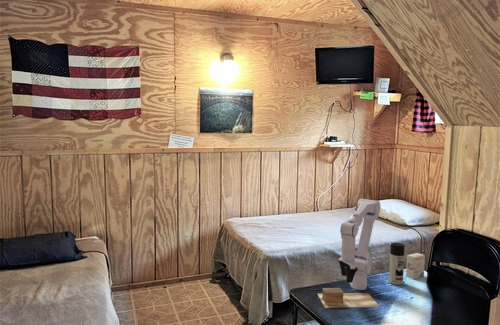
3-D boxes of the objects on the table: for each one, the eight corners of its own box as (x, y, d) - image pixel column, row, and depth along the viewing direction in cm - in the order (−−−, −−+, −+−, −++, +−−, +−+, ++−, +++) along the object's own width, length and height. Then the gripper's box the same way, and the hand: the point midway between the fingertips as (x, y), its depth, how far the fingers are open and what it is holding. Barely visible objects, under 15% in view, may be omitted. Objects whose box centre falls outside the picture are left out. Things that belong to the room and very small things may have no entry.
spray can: (395, 286, 198) (397, 246, 196) (385, 281, 204) (387, 242, 202) (405, 284, 201) (408, 245, 199) (395, 279, 207) (397, 241, 205)
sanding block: (322, 299, 178) (322, 288, 178) (340, 298, 179) (340, 287, 179) (325, 303, 174) (325, 292, 173) (343, 303, 175) (343, 292, 174)
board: (316, 296, 184) (317, 293, 184) (367, 296, 186) (368, 292, 186) (324, 310, 170) (324, 307, 170) (379, 310, 172) (379, 306, 172)
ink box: (416, 273, 216) (417, 252, 214) (424, 276, 211) (425, 254, 210) (405, 276, 211) (406, 254, 210) (413, 279, 207) (414, 257, 206)
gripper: (334, 244, 185) (333, 272, 186) (344, 254, 170) (343, 285, 172) (349, 244, 185) (348, 272, 187) (360, 254, 171) (359, 285, 172)
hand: (346, 278), depth 179 cm, fingers open, 7 cm apart
